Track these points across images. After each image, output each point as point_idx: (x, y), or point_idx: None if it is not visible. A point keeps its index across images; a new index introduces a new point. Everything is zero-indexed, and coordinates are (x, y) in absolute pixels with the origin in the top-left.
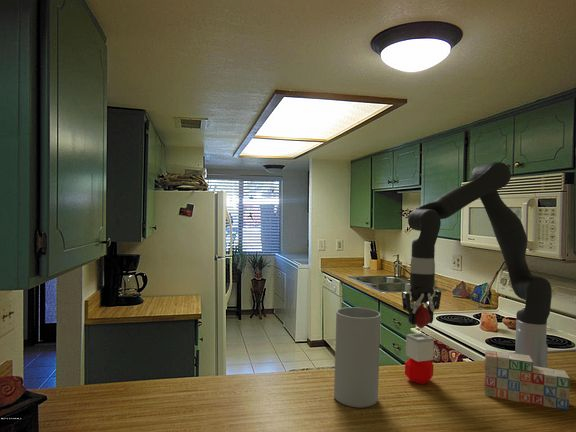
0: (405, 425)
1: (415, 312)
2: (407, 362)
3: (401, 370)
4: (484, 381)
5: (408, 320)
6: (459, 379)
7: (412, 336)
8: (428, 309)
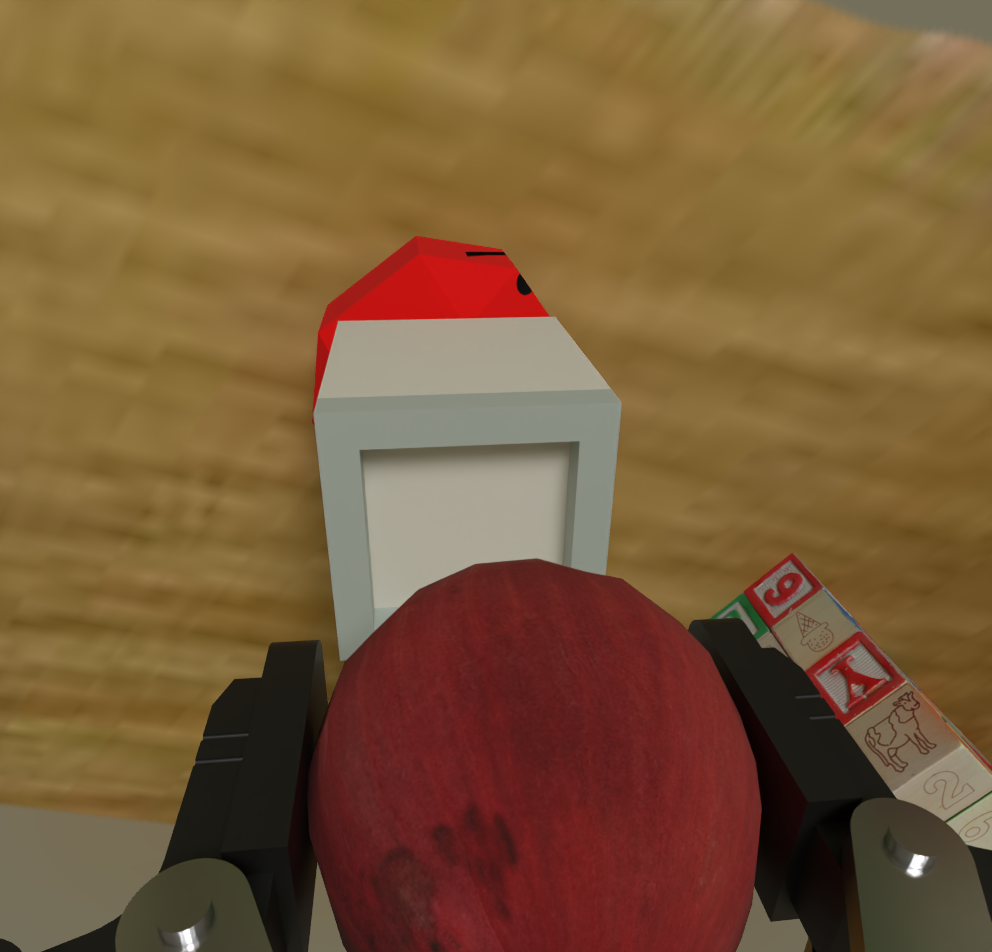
0: (3, 790)
1: (342, 929)
2: (325, 367)
3: (435, 79)
4: (810, 577)
5: (212, 705)
6: (762, 410)
7: (355, 516)
8: (834, 888)
